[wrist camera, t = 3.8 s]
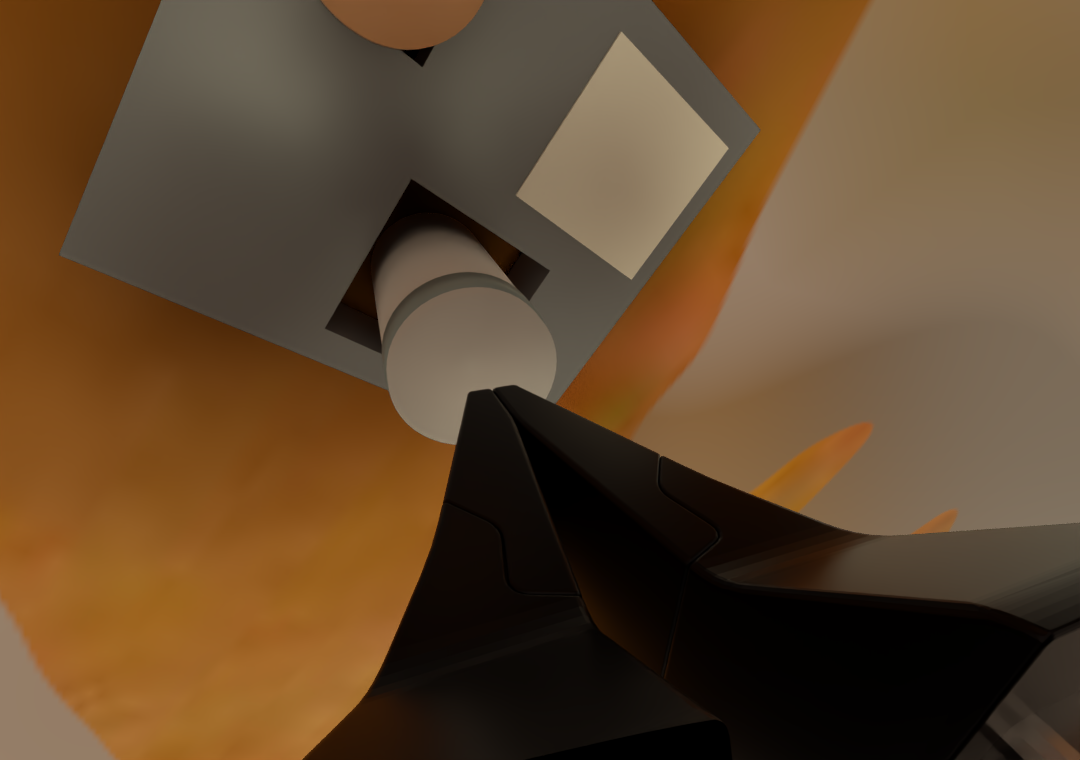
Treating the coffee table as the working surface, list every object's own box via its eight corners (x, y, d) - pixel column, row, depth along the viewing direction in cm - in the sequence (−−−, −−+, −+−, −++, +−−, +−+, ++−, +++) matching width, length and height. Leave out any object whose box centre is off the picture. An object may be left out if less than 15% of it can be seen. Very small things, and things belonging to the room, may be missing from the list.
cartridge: (407, 186, 19) (448, 257, 12) (507, 251, 21) (590, 342, 14) (347, 290, 20) (351, 411, 13) (448, 341, 22) (498, 465, 15)
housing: (323, -305, 13) (320, -397, 10) (711, 122, 21) (762, 130, 18) (100, 227, 16) (57, 256, 14) (505, 408, 25) (524, 447, 22)
